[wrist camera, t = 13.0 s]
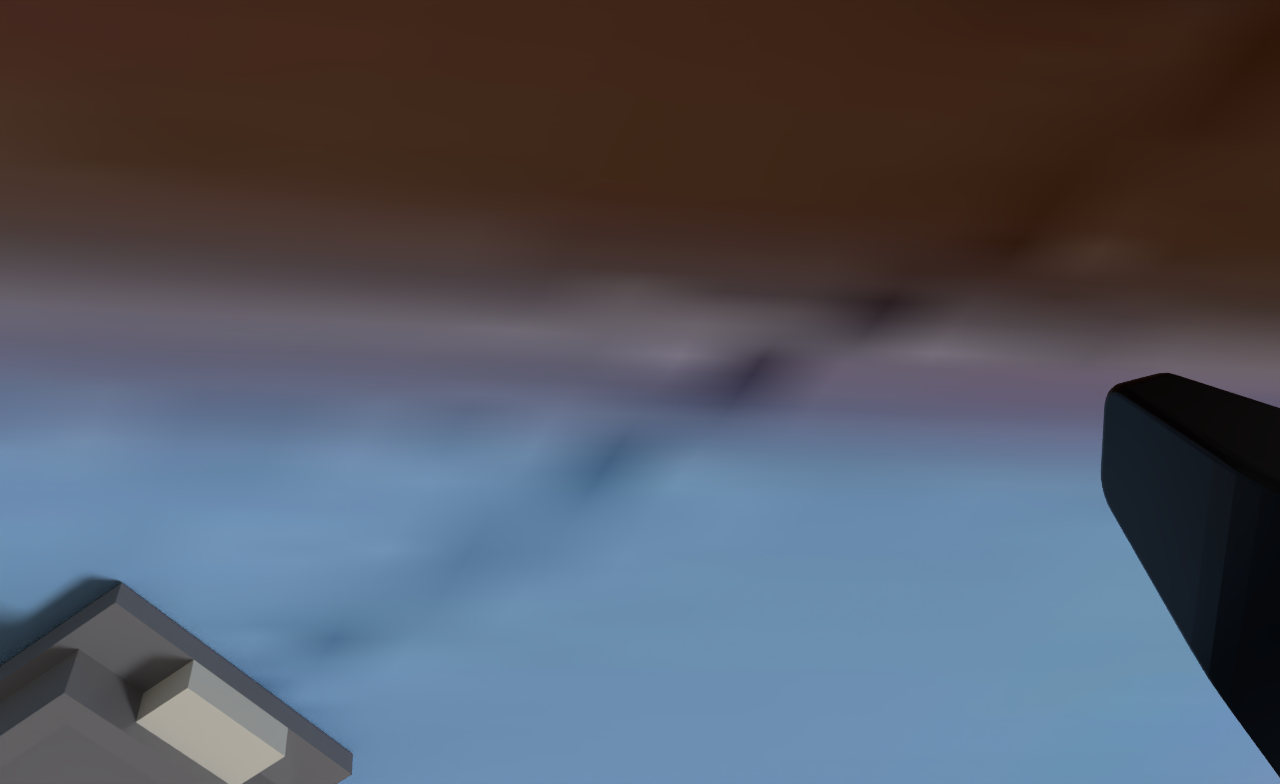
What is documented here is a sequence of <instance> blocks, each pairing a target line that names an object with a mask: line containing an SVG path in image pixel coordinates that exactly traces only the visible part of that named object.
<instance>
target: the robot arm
mask: <svg viewBox="0 0 1280 784" xmlns="http://www.w3.org/2000/svg"><path fill="white" fill-rule="evenodd" d="M1101 482H1102V488H1103V492H1104V495H1105V498H1106V501H1107V503H1108V505H1109V507H1110V509H1111V511H1112V513H1113V515H1114V516H1115V518H1116V520H1117V522H1118V523H1119V525H1120V527H1121V529H1122V530H1123V532H1124V534H1125V536H1126V537H1127V539H1128V541H1129V543H1130V544H1131V546H1132V548H1133V550H1134V551H1135V553H1136V555H1137V557H1138V558H1139V560H1140V562H1141V564H1142V565H1143V567H1144V569H1145V571H1146V572H1147V574H1148V576H1149V578H1150V579H1151V581H1152V583H1153V585H1154V586H1155V588H1156V590H1157V592H1158V593H1159V595H1160V597H1161V599H1162V600H1163V602H1164V604H1165V606H1166V607H1167V609H1168V611H1169V613H1170V614H1171V616H1172V618H1173V620H1174V621H1175V623H1176V625H1177V627H1178V628H1179V630H1180V632H1181V633H1182V635H1183V637H1184V639H1185V640H1186V642H1187V644H1188V646H1189V647H1190V649H1191V651H1192V652H1193V654H1194V656H1195V657H1196V659H1197V661H1198V662H1199V664H1200V666H1201V667H1202V669H1203V670H1204V672H1205V674H1206V675H1207V677H1208V679H1209V680H1210V681H1211V683H1212V684H1213V686H1214V687H1215V689H1216V690H1217V691H1218V693H1219V694H1220V696H1221V697H1222V699H1223V700H1224V702H1225V703H1226V704H1227V706H1228V707H1229V709H1230V710H1231V711H1232V713H1233V714H1234V716H1235V717H1236V718H1237V720H1238V721H1239V722H1240V724H1241V725H1242V726H1243V728H1244V729H1245V731H1246V732H1247V733H1248V735H1249V736H1250V737H1251V739H1252V740H1253V742H1254V743H1255V744H1256V746H1257V747H1258V748H1259V750H1260V751H1261V752H1262V754H1263V755H1264V757H1265V758H1266V759H1267V761H1268V762H1269V763H1270V765H1271V766H1272V768H1273V769H1274V770H1275V772H1276V773H1277V774H1278V776H1279V777H1280V408H1278V407H1275V406H1271V405H1268V404H1265V403H1262V402H1259V401H1256V400H1253V399H1250V398H1247V397H1243V396H1240V395H1237V394H1234V393H1231V392H1228V391H1225V390H1222V389H1218V388H1215V387H1212V386H1209V385H1206V384H1203V383H1200V382H1197V381H1194V380H1190V379H1187V378H1184V377H1181V376H1178V375H1175V374H1171V373H1159V374H1154V375H1150V376H1146V377H1142V378H1138V379H1134V380H1131V381H1127V382H1123V383H1119V384H1117V385H1115V386H1114V387H1113V388H1112V389H1111V390H1110V391H1109V392H1108V395H1107V397H1106V400H1105V406H1104V423H1103V442H1102V460H1101Z"/></svg>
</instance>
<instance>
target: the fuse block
mask: <svg viewBox="0 0 1280 784" xmlns="http://www.w3.org/2000/svg"><path fill="white" fill-rule="evenodd" d="M352 759H353V754H352V753H351V752H349V751H348V750H347V749H345V748H344V747H343V746H341V745H340V744H339V743H337V742H336V741H334V740H333V739H332V738H330V737H329V736H328V735H326V734H325V733H324V732H322V731H321V730H320V729H318V728H317V727H316V726H314V725H313V724H312V723H310V722H309V721H308V720H306V719H305V718H303V717H302V716H301V715H299V714H298V713H297V712H295V711H294V710H293V709H291V708H290V707H289V706H287V705H286V704H285V703H283V702H282V701H281V700H279V699H278V698H276V697H275V696H274V695H272V694H271V693H270V692H268V691H267V690H266V689H264V688H263V687H262V686H260V685H259V684H258V683H256V682H255V681H254V680H252V679H251V678H250V677H248V676H247V675H245V674H244V673H243V672H241V671H240V670H239V669H237V668H236V667H235V666H233V665H232V664H231V663H229V662H228V661H227V660H225V659H224V658H223V657H221V656H220V655H219V654H217V653H216V652H214V651H213V650H212V649H210V648H209V647H208V646H206V645H205V644H204V643H202V642H201V641H200V640H198V639H197V638H196V637H194V636H193V635H192V634H190V633H189V632H187V631H186V630H185V629H183V628H182V627H181V626H179V625H178V624H177V623H175V622H174V621H173V620H171V619H170V618H169V617H167V616H166V615H165V614H163V613H162V612H161V611H159V610H158V609H156V608H155V607H154V606H152V605H151V604H150V603H148V602H147V601H146V600H144V599H143V598H142V597H140V596H139V595H138V594H136V593H135V592H134V591H132V590H131V589H130V588H128V587H127V586H125V585H124V584H123V583H120V584H119V585H118V586H116V587H115V588H113V589H112V590H110V591H109V592H107V593H106V594H104V595H103V596H102V597H100V598H99V599H97V600H96V601H94V602H93V603H91V604H90V605H88V606H87V607H86V608H84V609H83V610H81V611H80V612H78V613H77V614H75V615H74V616H72V617H71V618H70V619H68V620H67V621H65V622H64V623H62V624H61V625H59V626H58V627H56V628H55V629H54V630H52V631H51V632H49V633H48V634H46V635H45V636H43V637H42V638H40V639H39V640H38V641H36V642H35V643H33V644H32V645H30V646H29V647H27V648H26V649H24V650H23V651H22V652H20V653H19V654H17V655H16V656H14V657H13V658H11V659H10V660H8V661H7V662H6V663H4V664H3V665H1V666H0V784H337V783H339V782H340V781H342V780H344V779H345V778H347V777H348V776H350V775H352Z"/></svg>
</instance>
